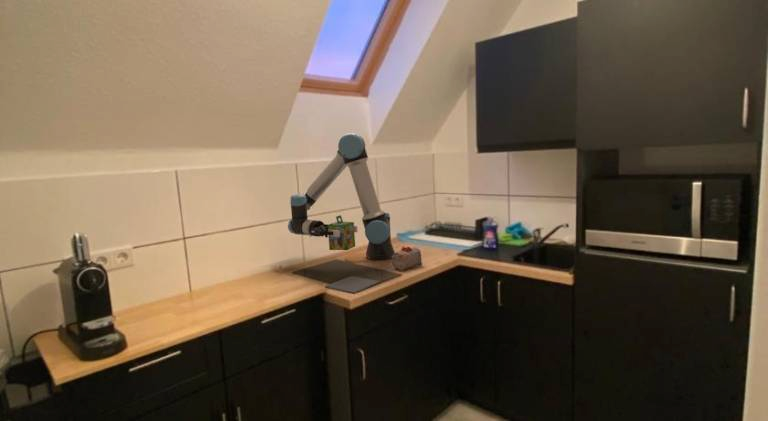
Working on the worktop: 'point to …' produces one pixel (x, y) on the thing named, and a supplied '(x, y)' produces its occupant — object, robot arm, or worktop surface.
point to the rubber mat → (352, 284)
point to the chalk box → (342, 235)
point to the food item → (406, 258)
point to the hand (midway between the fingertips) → (348, 231)
